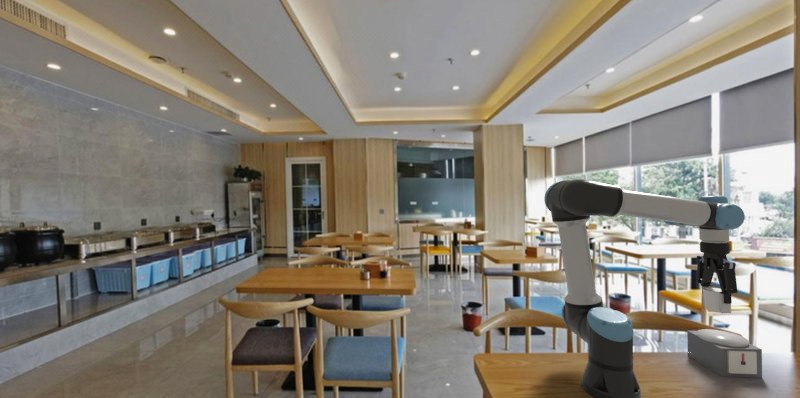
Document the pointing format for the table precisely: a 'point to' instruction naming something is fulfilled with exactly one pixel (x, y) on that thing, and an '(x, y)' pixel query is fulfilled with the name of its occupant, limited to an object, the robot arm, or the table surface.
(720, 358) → the dial scale
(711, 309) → the shot glass
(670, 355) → the table surface
